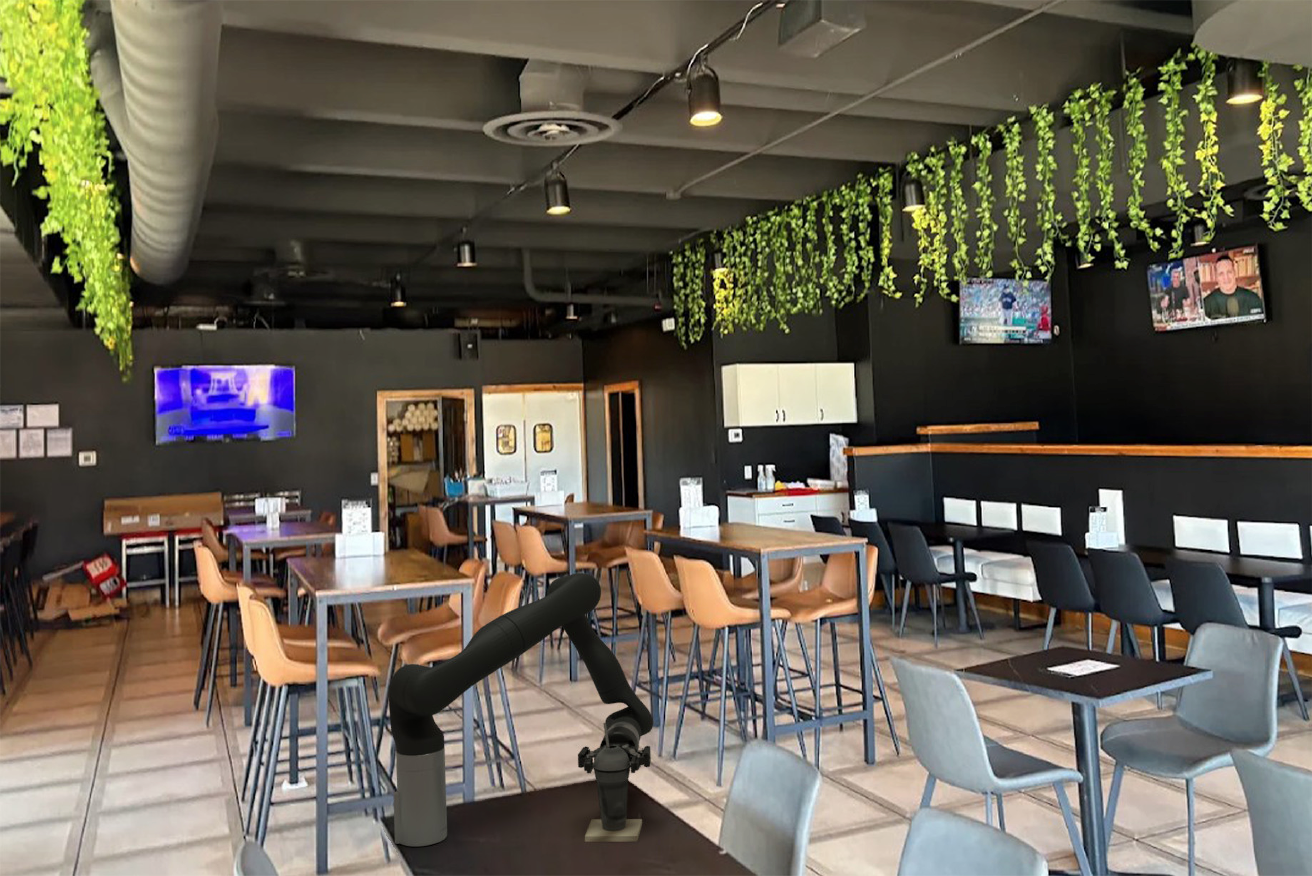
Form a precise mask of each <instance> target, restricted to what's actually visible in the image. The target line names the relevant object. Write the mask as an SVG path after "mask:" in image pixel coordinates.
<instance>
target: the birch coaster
mask: <svg viewBox="0 0 1312 876" xmlns="http://www.w3.org/2000/svg"><path fill="white" fill-rule="evenodd" d="M642 826H643V819H642V818H634V819H633V818H632V819H631V818H628V819H627V818H626V827H625V828H624V829H622V830H619V831H606V830H604V829H603V828H602V821H601V818H600V819H597V818H596V819H594V818H591V820H590V823H589V825H588V827H587V830H586V833H585V835H584V842H585V843H587V842H590V843H591V842H592V843H593V842H596V843H597V842H598V843H599V842H602V843H603V842H604V843H605V842H608V843H609V842H610V843H611V842H613V843H614V842H615V843H616V842H617V843H618V842H620V843H621V842H638V841H639V838H640V833H641V831H642Z"/></svg>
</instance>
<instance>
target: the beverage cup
mask: <svg viewBox="0 0 1312 876" xmlns="http://www.w3.org/2000/svg"><path fill="white" fill-rule="evenodd" d="M603 729H604V736H605V738H606V745H607V746H606V747H604V748H602V749H601V750H600V751H599V752H598V754H597V756H596V758H595V762H594V761H593V763H594V768H593V772H594V776H595V778H594V779H596V780H595V781H596V788H597V796H598V805H599V813H600V819H601V821H602V828H603V829H604V830H606V831H619V830H622V829H624V828H625V827H626V819H627V812H628V810H627V809H628V791H629V790H628V789H629V788H628V787H629V778H630V774H631V765H630V761H629V758H628V755H627V754H626V752H625V751H624V750H623V749H622V748H620V747H618V746H615V745H609V741H608V734H607V727H606V723H605V722H603Z"/></svg>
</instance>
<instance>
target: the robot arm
mask: <svg viewBox="0 0 1312 876" xmlns="http://www.w3.org/2000/svg"><path fill="white" fill-rule="evenodd" d="M601 596H602V589H601V585H600V583H599V581H598V580H597V579H596V577H594V576H593V575H591V574H588V573H584V572H583V573H582V572H577V573H572V574H568V575H565V576H561V577H559V578H556V579H554V580H552V581H551V583H550V584H549V586H548V588H547V592H546V596H544V597H542V598H539V599H538V600H535V601H532V602H530V603H527V604H524V605H521V606H519V607H517V608H514V609H512V610H510V611H508V612H505V613H503V614H501V615H499V616H498V617H495V618H494V619H492V620H491V621H489V622H488V623H485V625H483V626H482V627H480V628H479V629H478V630H476V632H475V633H474V634H473V636H471V639H470V640H469V641H468V643H467V645H466V646H465V647H464V649H462V651H460V652H459V653H457V654H456V655H455V656H453V657H451V658H448V659H447V660H446V661H444V662H442V663H439V664H437V665H435V666H431V667H430V666H425V665H421V664H417V663H415V664H414V663H408V664H404V665H403V666H401V667H400V668H398V669H397V670H396V671H395V672H394V674H393V676H392V677H391V679H390V683H389V687H388V708H389V721H390V723H389V724H390V733H391V737H392V738H393V741H394V743H395V744H394V745H395V758H396V759H395V760H396V761H395V762H396V763H395V765H396V766H395V767H396V791H395V792H394V793H393V821H394V822H393V824H394V826H393V827H394V843H395V844H396V845H397V844H401V845H403V846H407V847H425V846H430V845H434V844H437V843H440V842H442V841H444V840H445V839H446V838H447V837H448V821H447V819H448V818H447V785H446V753H445V752H446V751H445V750H446V748H445V734H444V732H443V730H441V728H440V727H439V726H438V725H437V723H436V721H435V718H434V715H436V714H438V713H440V712H441V711H443V710H444V709H446V708H447V707H449V706H450V705H451V704H452V703H453V702H454V701H456V700H457V699H458V698H459V697H460V696H462V695H464V693H465V692H467V691H468V690H469V689H471V687H473V686H474V685H476V684H477V683H479V682H480V681H482V680H484V679H485V678H487V677H488V676H490V675H492V674H493V673H494V672H497V670H499V669H501V668H503V667H504V666H506V665H508V664H509V663H511V662H512V661H514V660H516V659H518V658H519V657H520V656H522V655H524V653H526V652H528V651H529V650H530V649H532V648H533V647H535V646H536V645H538V644H539V643H540V642H542V641H543V640H545V638H547V637H549V636H550V635H551V634H553V633H554V632H555V631H556V630H558V629H560V628H561V627H562V629H563V631H565V633H566V635H567V637H568V638H569V640H570V641H571V643H572V645H573V646H574V648H575V649H576V651H577V653H578V655H579V656H580V658H581V660H582V661H583V663H584V665H585V667H586V669H587V671H588V673H589V676H590V677H591V680H592V682H593V683H592V684H594V687H595V689H596V692H597V694H598V696H599V698H600V700H601V701H602V703H604V704H605V705H612V704H623V705H626V707H624V708H622V709H619V710H617V711H614V712H612V713H610V714H608V716H607V717H606V718H605V722H604V723H606V727H607V734H608V741H609V745H615V746H618V747H620V748H622V749H623V750H624V751H625V752H626V754H627V755H628V758H629V761H630V765H631V767H630V774H635V773H636V771H639V770H640V768H641V767H642V766H643V767H644V768H649V767H651V761H652V760H651V759H652V757H651V756H652V755H651V746H650V745H645V746H644V747H643V748H641V749H640V750H639V748H640V741H641V737H642V736H646V735H647V734H649V733H650V732H651V731H652V729H653V727H654V719H653V718H654V717H653V715H652V714H651V711H650V710H649V709H648V707H647V706H646V705H645V704H644V702H643V701H642V700H641V699H640V698H639V696H638V695H637V694H636V693H635V691H634V689H633V688H632V687H631V685H630V684H629V682H628V679H627V676H626V674H625V672H624V671H623V667H622V665H621V664H620V662H619V659H618V658H617V656H616V655H615V653H614V652H613V651H612V650H611V649H610V648H609V647H608V646H607V644H605V642H604V641H603V640H602V639H601V638H600V637H599V635H597V633H596V632H595V630H594V629H593V627H592V626H591V624H590V622H589V621H588V618H587V616H586V615H588V614H590V613H591V612H592V611H594V609H596V607H597V606H598V604H599V602H600V601H601V600H600V599H601ZM601 740H602V741H601V742H600V745H599V747H597V748H596V749H594V750H591V749H590V747H589V746H584V747H582V748H581V749H580V751H579V753H578V754H577V766H578V768H580V769H582V768H583V770H584V772H586V774H592V771H594V769H593V768H594V762H595V758H596V756H597V754H598V752H599V751H600V750H601V749H602V748H604V747H606V746H607V745H606V738H605V735H604V736H603V738H602V739H601Z"/></svg>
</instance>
